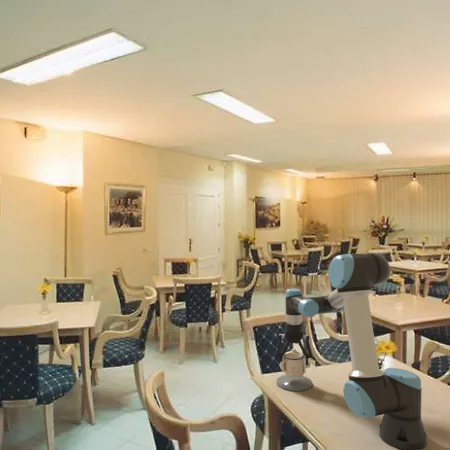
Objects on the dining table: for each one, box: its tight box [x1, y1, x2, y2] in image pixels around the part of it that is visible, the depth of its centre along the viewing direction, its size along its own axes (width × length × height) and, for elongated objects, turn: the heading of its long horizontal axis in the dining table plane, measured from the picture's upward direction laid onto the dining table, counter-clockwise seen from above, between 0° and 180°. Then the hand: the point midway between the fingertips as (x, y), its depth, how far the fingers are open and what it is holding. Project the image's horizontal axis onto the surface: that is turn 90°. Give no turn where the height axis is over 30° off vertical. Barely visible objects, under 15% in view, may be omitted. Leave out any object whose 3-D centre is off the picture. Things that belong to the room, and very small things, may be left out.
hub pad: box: [276, 374, 313, 392], centre depth 188 cm, size 16×16×1 cm
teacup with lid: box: [279, 348, 305, 377], centre depth 188 cm, size 12×9×12 cm
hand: (294, 371), depth 188 cm, fingers closed on teacup with lid, 9 cm apart
